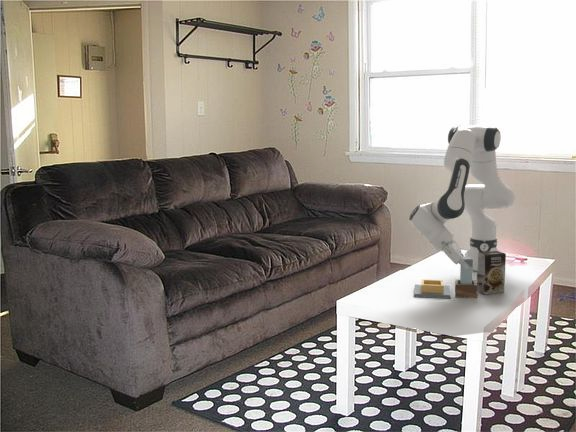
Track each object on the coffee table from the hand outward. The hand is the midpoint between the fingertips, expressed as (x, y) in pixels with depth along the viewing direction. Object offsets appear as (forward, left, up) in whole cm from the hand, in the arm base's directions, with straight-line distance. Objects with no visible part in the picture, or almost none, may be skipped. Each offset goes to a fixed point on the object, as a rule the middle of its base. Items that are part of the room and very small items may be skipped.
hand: (467, 264), depth 251 cm
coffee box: (-6, +10, -12) cm, 17 cm away
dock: (-1, -13, -12) cm, 18 cm away
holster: (0, 0, -12) cm, 12 cm away
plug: (0, 0, -12) cm, 12 cm away
